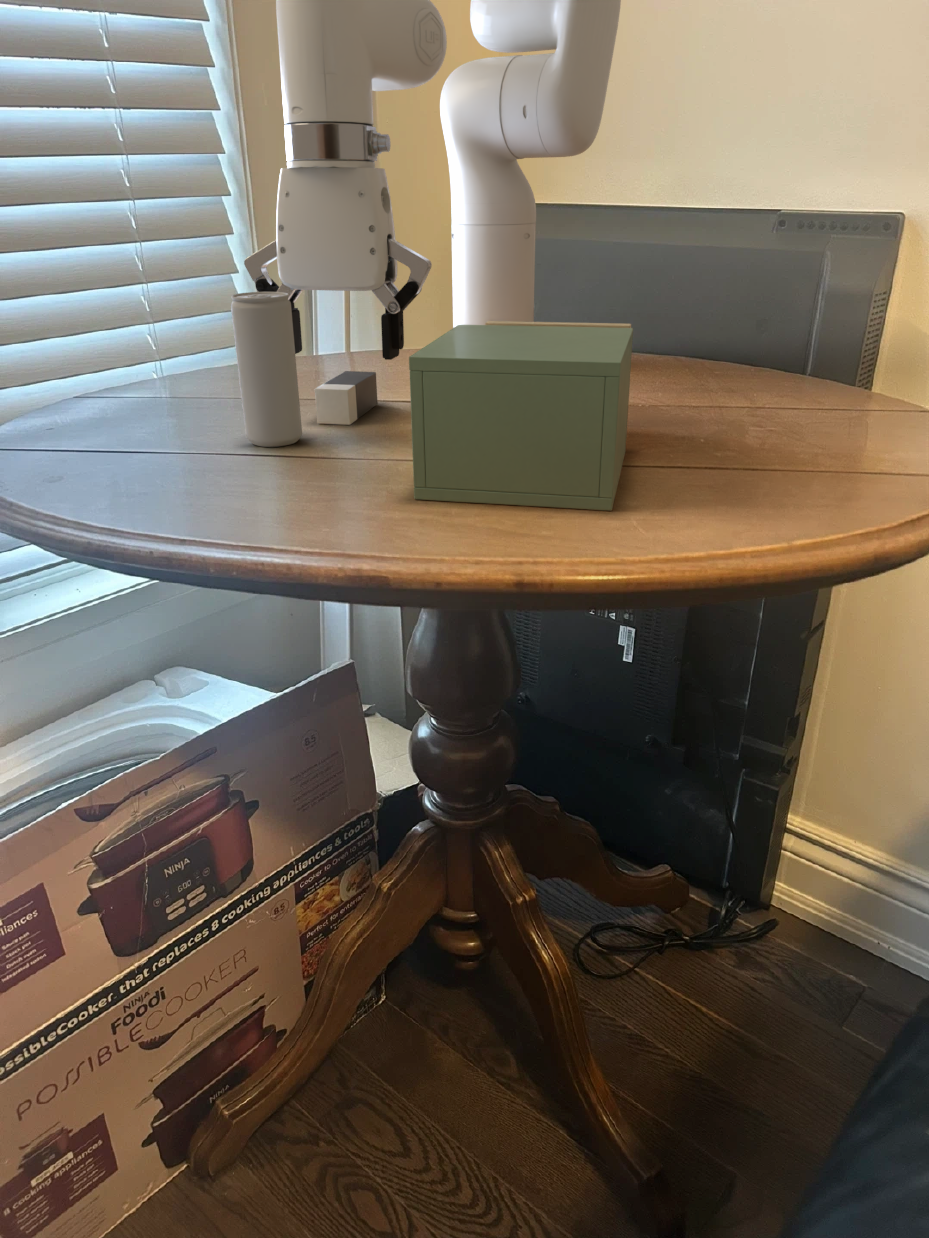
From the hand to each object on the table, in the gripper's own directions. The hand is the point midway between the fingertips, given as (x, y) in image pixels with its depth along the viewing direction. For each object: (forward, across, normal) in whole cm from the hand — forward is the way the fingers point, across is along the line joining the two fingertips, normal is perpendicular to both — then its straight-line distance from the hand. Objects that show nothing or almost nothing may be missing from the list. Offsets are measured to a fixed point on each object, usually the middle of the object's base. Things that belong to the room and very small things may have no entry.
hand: (341, 355), depth 86 cm
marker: (+6, 0, -1) cm, 6 cm away
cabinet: (+6, -20, +16) cm, 27 cm away
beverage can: (+6, +3, +10) cm, 12 cm away
